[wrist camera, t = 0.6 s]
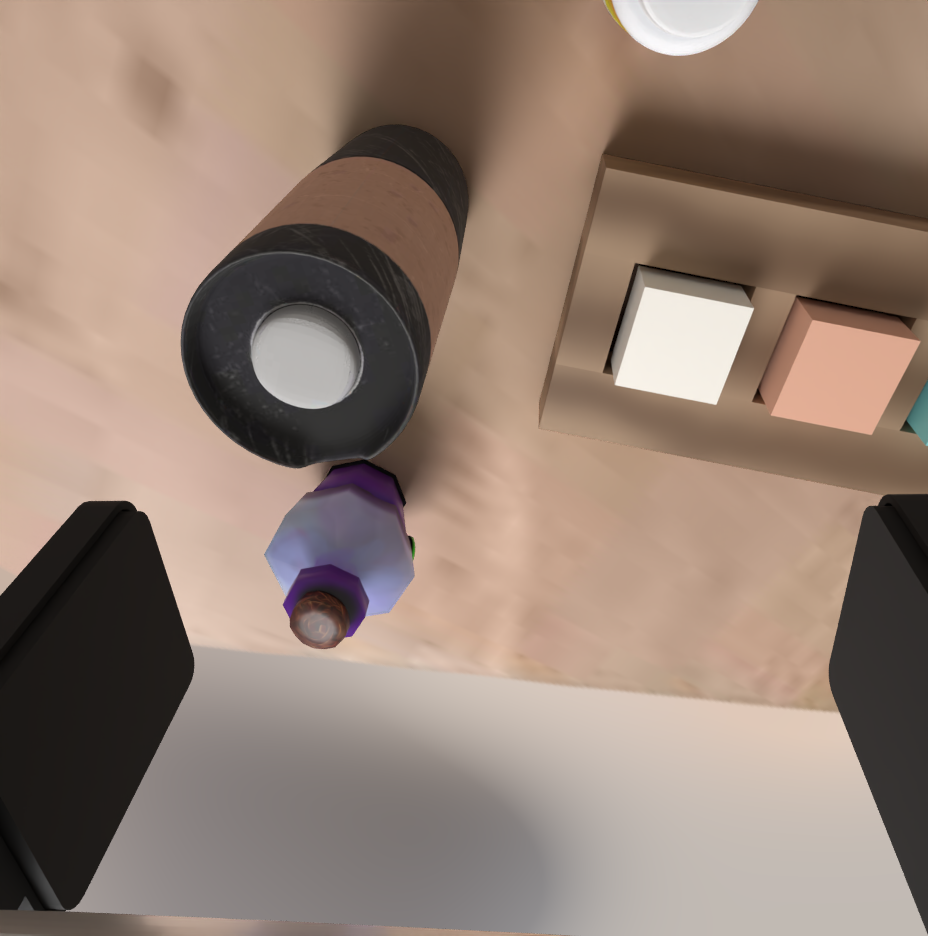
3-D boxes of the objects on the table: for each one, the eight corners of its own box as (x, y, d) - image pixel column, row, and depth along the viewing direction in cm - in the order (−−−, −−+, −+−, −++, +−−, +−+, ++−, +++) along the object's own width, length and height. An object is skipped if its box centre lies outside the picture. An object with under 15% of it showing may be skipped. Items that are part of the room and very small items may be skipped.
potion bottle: (423, 558, 54) (395, 698, 44) (295, 539, 54) (238, 675, 44) (435, 449, 49) (407, 577, 39) (295, 429, 49) (231, 552, 39)
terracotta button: (795, 296, 40) (812, 319, 38) (897, 316, 40) (920, 341, 38) (757, 388, 43) (770, 415, 41) (852, 406, 43) (871, 435, 41)
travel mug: (372, 83, 38) (238, 188, 22) (504, 178, 40) (474, 343, 24) (300, 216, 42) (137, 394, 25) (423, 298, 44) (347, 513, 27)
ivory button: (638, 265, 40) (644, 286, 38) (741, 285, 40) (754, 308, 38) (610, 359, 43) (614, 385, 40) (706, 378, 43) (716, 404, 40)
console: (602, 153, 39) (606, 167, 37) (1138, 261, 40) (1178, 282, 37) (539, 402, 47) (538, 428, 44) (990, 490, 47) (1014, 520, 45)
